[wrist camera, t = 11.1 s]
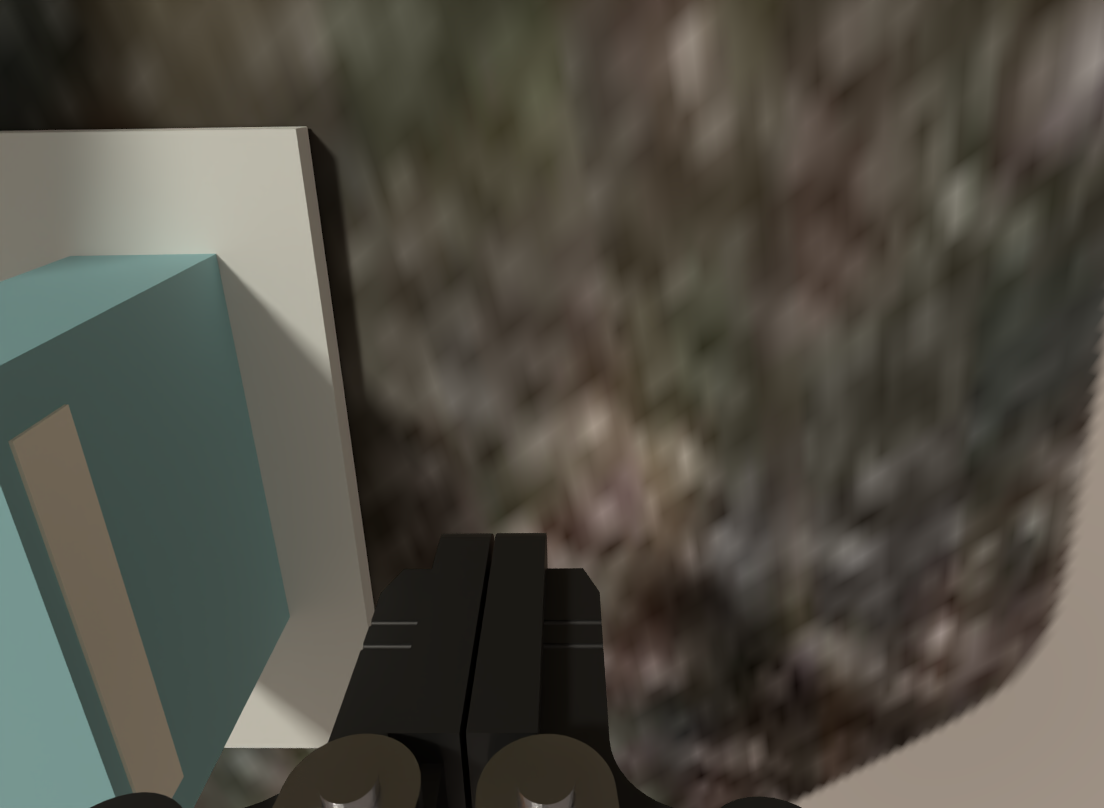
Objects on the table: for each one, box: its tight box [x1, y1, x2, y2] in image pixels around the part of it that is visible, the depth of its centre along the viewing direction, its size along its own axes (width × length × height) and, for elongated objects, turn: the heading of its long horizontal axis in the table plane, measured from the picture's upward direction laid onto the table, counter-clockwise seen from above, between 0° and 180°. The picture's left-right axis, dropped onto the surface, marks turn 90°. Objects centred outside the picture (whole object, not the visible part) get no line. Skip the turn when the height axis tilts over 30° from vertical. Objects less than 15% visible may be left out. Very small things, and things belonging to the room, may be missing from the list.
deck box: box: [0, 254, 290, 808], centre depth 12 cm, size 8×3×6 cm, turn 1°
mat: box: [0, 126, 375, 748], centre depth 15 cm, size 14×13×1 cm
